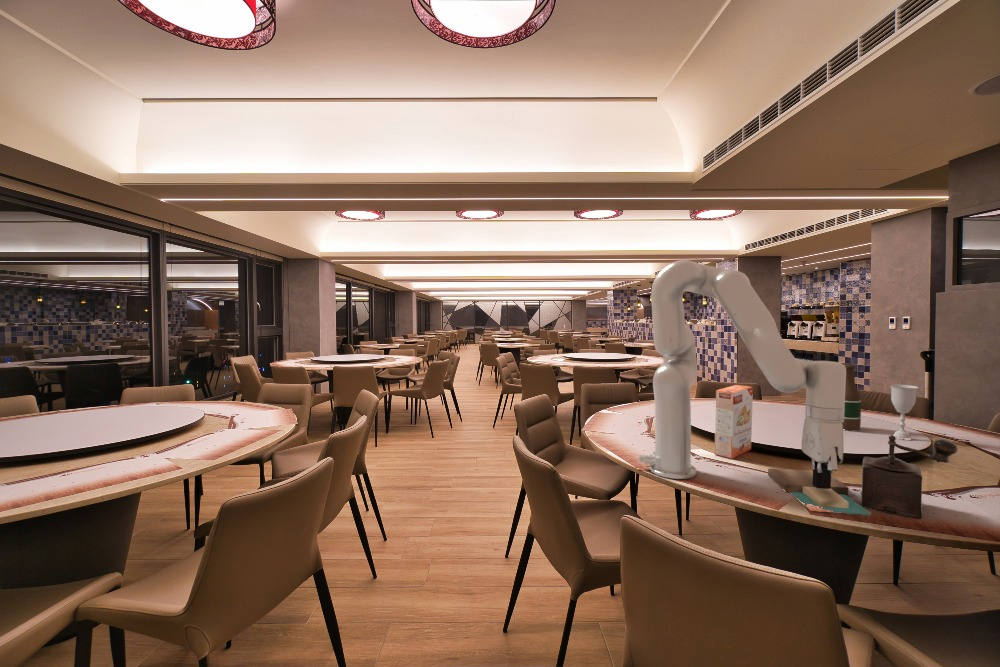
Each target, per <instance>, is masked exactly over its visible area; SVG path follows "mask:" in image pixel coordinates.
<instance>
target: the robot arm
mask: <svg viewBox="0 0 1000 667" xmlns="http://www.w3.org/2000/svg"><path fill="white" fill-rule="evenodd" d="M650 292H651V293H650V295H651V296H650V298H651V300H650V301H651V314H652V315H651V316H652V317H651V318H652V331H653V334H652V336H653V345H654V348H655V351H656V352H657V353H658V354H659V355H661V356H662V360H663V362H662V364H661V365H660V366H658V368H657V369H655V370H656V371H654V372H655V373H654V374H653V379H652V388H653V389H652V390H653V396H654V417H655V419H654V420H655V422H654V424H655V425H654V431H655V432H654V448H655V449H654V451H652V454H648V455H645V454H643V455H642V454H638V457H637V459H638V462H639V463H643V464H644V465H649V470H650V471H651V473H653V474H655V475H656V476H659V477H662V478H667V479H674V480H687V479H692V478H694V477H695V476H696V475H698V474H697V472H698V470H697V468H696V467H695V466H694V465H692V464H691V463H692V460H691V458H692V455H691V454H692V452H691V451H692V450H691V449H692V445H691V444H692V440H691V438H692V423H691V422H692V419H691V418H692V414H691V413H692V412H691V410H692V409H691V408H692V407H691V406H692V405H691V404H692V403H691V396H690V395H691V394H690V393H691V392H690V390H691V387H693V386H694V385H695V383H696V381H697V378H698V365H697V364H698V363H697V361H698V360H697V349H696V348H697V347H696V338H695V335H694V332H693V330H692V328H690V327H689V326H688V324H687V325H686V321H685V320H686V319H685V308H684V307H685V306H684V301H683V299H684V298H683V296H684V293H685V292H690V293H694V294H698V295H701V296H705V297H710V298H713V299H716V300H717V301H718V302H719V304H720V306H721V308H722V309H723V311H724V312H725V314H726V315H727V316H728V318H729V320H730V321H731V323H732V325H733V326H734V328H735V329H736V331H737V333H738V334H739V336H740V338H741V340H742V341H743V343H744V344H745V346H746V348H747V349H748V351H749V352H750V354H751V357H752V358H753V360H754V362H755V363H756V364H757V366H758V367H759V369H760V371H761V372H762V373H763V375H764V377H765V378H766V380H767V381H768V383H769V384H770V385H771V386H772V387H773V388H774V389H775V390H777V391H778V392H782V393H786V394H792V393H793V394H794V393H795V392H798V391H800V390H801V389H802V388H805V391H806V392H805V412H804V413H805V415H804V416H805V418H804V422H803V426H802V434H801V435H802V436H801V451H802V452H803V453H804V454H805V455H807V456H808V457H809V458H810V459H811V468H812V470H813V482H812V484H813V486H815V487H816V488H822V489H830V488H831V476H832V474H833V471H835V472H836V471H838V465H841V464H842V463H843V460H844V452H845V451H844V450H845V449H844V430H843V426H842V422H844V409H845V386H846V368H845V366H844V364H843V363H842V362H838V361H830V360H814V361H813V360H805V359H800V358H795V356H794V355H793V354H792V352H791V351H790V349H789V348H788V346H787V344H786V342H785V341H784V340H783V338H782V335H781V334H780V332H779V329H778V327H777V324H776V321H775V319H774V317H773V315H772V313H771V312H770V311H769V309H768V308H767V306H766V305H765V303H764V301H762V299H761V298H760V297H759V295H758V293H757V292H756V291H755V289H754V287H753V285H752V284H751V281H750V279H749V277H748V276H747V274H745V273H744V272H742V271H739V270H736V269H725V268H720V267H716V266H711V265H706V264H702V263H698V262H695V261H692V260H689V259H679V260H675V261H673V262H671V263H669V264H668V265H666V266H665V267H663V268H662V269H661V270H660V271H659V272H657V275H656V276H655V278H654V281H653V283H652V286H651V291H650Z"/></svg>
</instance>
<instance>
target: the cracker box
mask: <svg viewBox="0 0 1000 667" xmlns="http://www.w3.org/2000/svg"><path fill="white" fill-rule="evenodd" d="M753 393H754V387H753V386H749V385H741V384H740V385H739V384H734V385H731V386H727V387H723V388H719V389H717V390H715V419H714V420H715V422H714V425H715V428H714V455H715V456H719V457H723V458H726V459H730V460H733V459H735V458H737V457H739V456H741V455H743V454H744V453H746V452H749V451H750V450H752V433H753V432H752V430H753V429H752V428H753V427H752V426H753V398H754V396H753V395H754V394H753Z"/></svg>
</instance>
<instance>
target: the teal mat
mask: <svg viewBox="0 0 1000 667" xmlns="http://www.w3.org/2000/svg"><path fill="white" fill-rule="evenodd" d="M791 493H792V494H793V495H794V496H796V498H798V499H799V500H800V501H801V502H803V503H805V505H807V504H812V505H814V506H818V505H817V504H816V503H814V502H813V501H812V500H811V499H810V498H809V497H807V496H806V495H805V494H804V493H803V492H791ZM791 493H790V494H791ZM792 494H791V495H792ZM793 495H792V496H793ZM839 495H840V496H841V497H843V498H844V499H845V500H847V501H848V502H849V505H848V508H833V507H823V508H822V509H825V510H831V511H833V512H841V513H846V514H845V515H855V514H859V515H860V514H861V515H860V516H872V514H871V512H869V511H868V510H867V509H865V507H862V505H861V504H858V503H857V502H856V501H854V500H853V499H852V498H851V497H849V495H848V496H846V495H842V494H839ZM794 496H793V497H794ZM796 498H795V499H796ZM798 499H797V500H798ZM799 500H798V501H799ZM800 501H799V502H800ZM801 502H800V503H801ZM819 508H821V507H819ZM859 515H858V516H859Z"/></svg>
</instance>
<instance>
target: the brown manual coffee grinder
mask: <svg viewBox="0 0 1000 667" xmlns="http://www.w3.org/2000/svg"><path fill="white" fill-rule="evenodd" d="M896 440H897V439H896V437H895V436H893V434H890V435H889V436H888V442H887V444H888V446H889V448H888V449H889V450H888V455H887V456H881V457H872V456H871V457H870V456H863V459H862V473H861V474H862V475H861V476H862V477H861V492H860V506H861V507H862V506H863V507H862V508H865V507H866V509H870V508H871V510H874V509H875V511H880V512H884V513H888V514H893V515H899V516H900V515H901V516H904V517H910V518H917V519H922V517H923V513H922V502H923V501H922V500H923V498H922V496H923V492H922V491H923V478H924V477H923V474H922V470H921V468H920V467H919V464H913V463H909V462H906V461H903V460H902V459H900V458H897V457H895V448H898V449H900V450H902V451H906V452H910V453H913V454H917V455H920V456H923V457H926V458H928V459H931V460H933V461H936V462H937V463H946V464H947V463H950V460H949V458H950V456H951V457H952V455H955V454H956V453H958V450H959V449H958V446H957V445H956V444H955V443H954V442H953V441H950V440H948V439H945V438H943V439H942V438H940V439H939V438H938V439H935V440H934V441H933V443H932V444H933V446H932V447H933V448H934V453H933V454H930V453H927V452H925V451H923V450H918V449H916V448H911V447H908V446H903V445H900V444H899V443H897V442H896Z"/></svg>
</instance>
